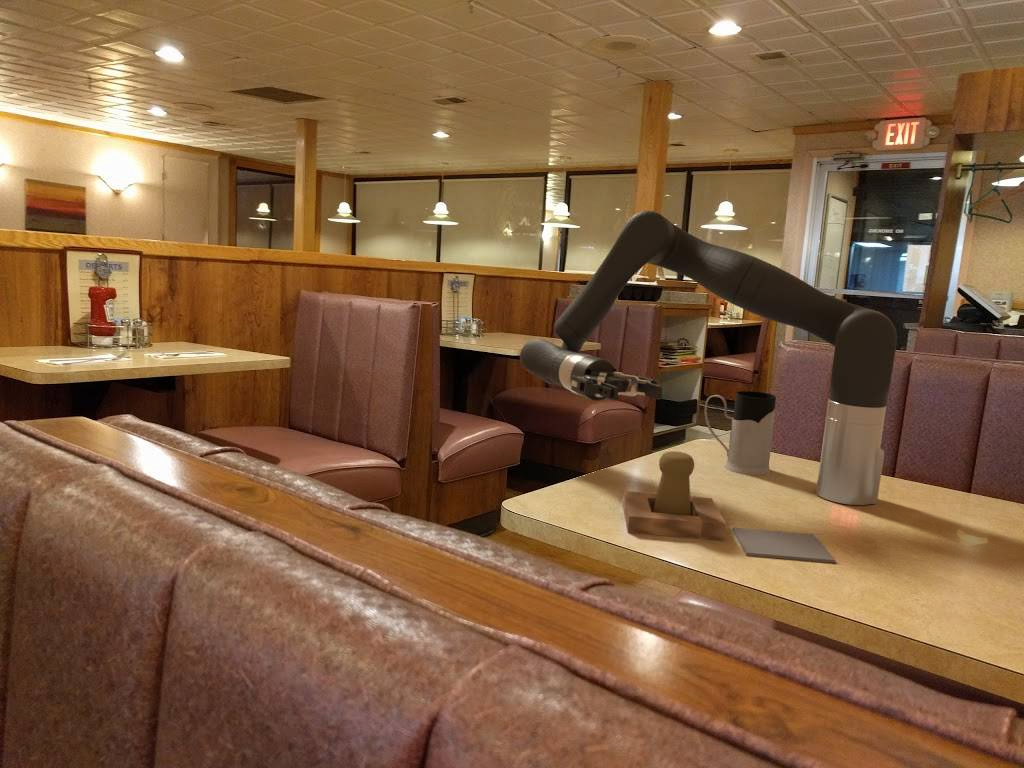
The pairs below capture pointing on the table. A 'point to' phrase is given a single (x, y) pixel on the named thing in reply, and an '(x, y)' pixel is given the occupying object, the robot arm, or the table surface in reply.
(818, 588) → the table surface
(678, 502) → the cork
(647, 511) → the socket block
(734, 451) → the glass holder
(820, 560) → the rubber mat
